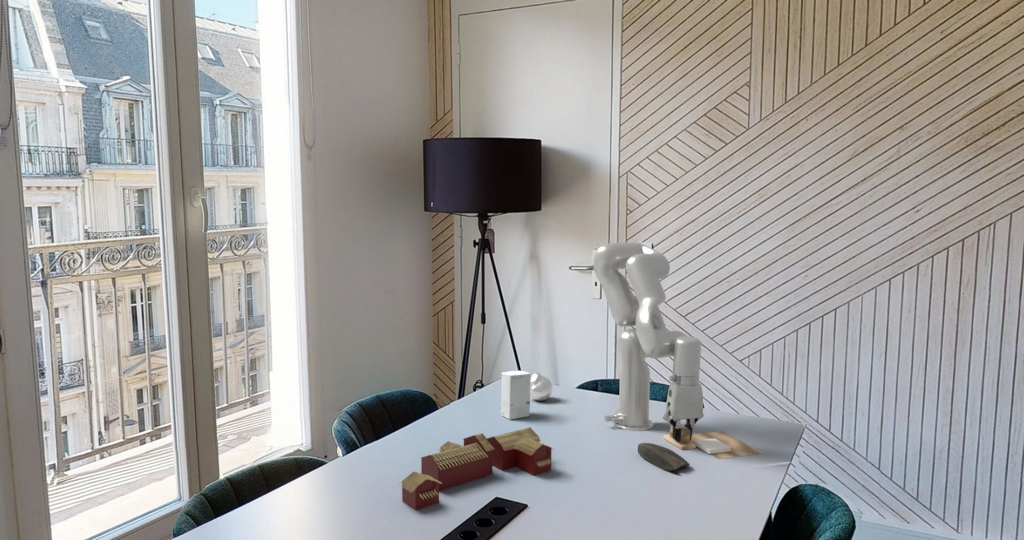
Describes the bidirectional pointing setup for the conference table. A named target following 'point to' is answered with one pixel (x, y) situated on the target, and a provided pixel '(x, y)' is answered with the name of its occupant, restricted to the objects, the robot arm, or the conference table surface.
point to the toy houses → (474, 464)
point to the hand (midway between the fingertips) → (681, 439)
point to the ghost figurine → (540, 387)
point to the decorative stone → (661, 456)
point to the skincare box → (515, 394)
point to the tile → (712, 446)
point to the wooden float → (681, 438)
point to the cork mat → (736, 445)
